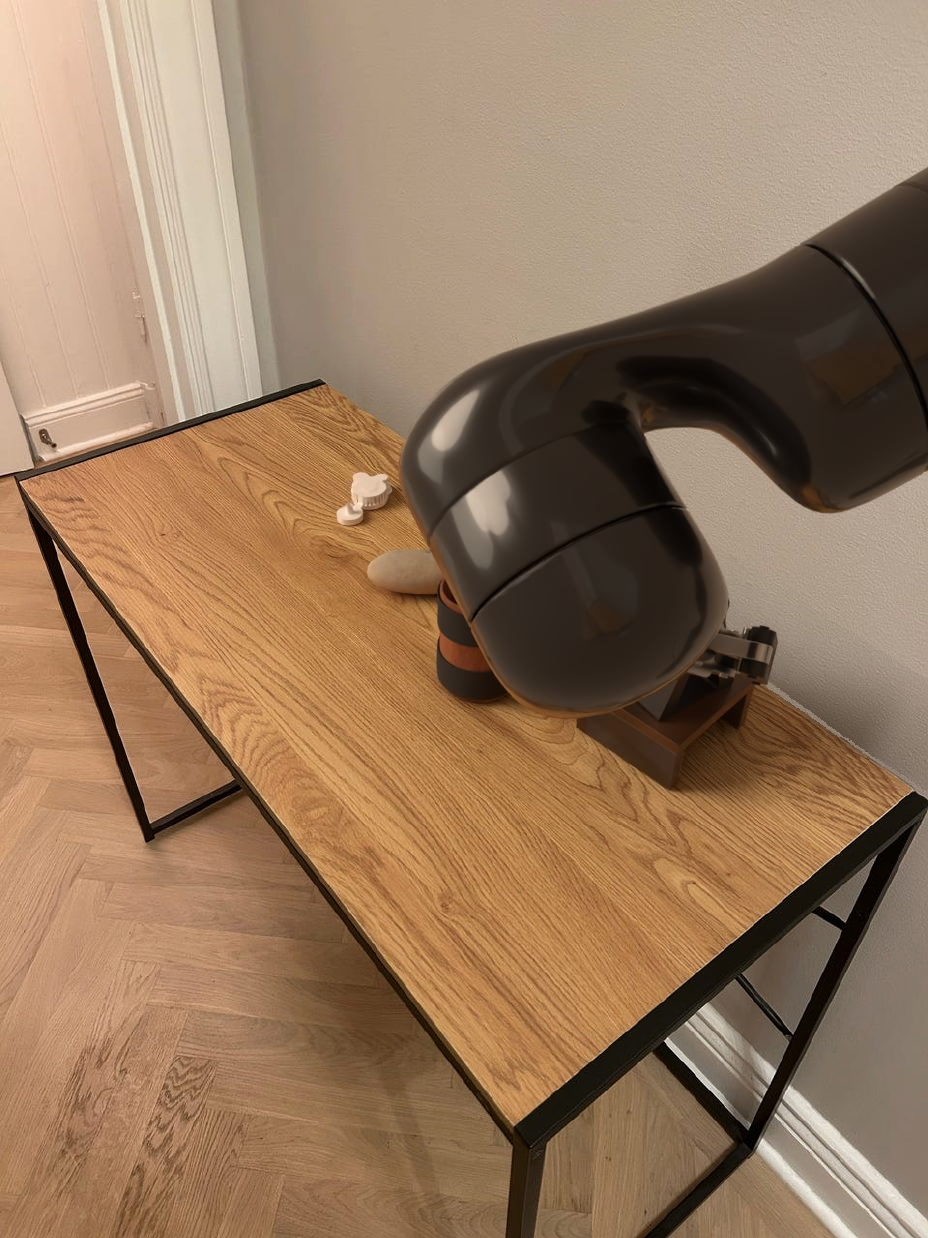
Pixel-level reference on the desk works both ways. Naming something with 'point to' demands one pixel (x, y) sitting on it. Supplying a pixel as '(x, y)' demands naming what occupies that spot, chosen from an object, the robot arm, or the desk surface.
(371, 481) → the white rounded lumpy shapes
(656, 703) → the phone stand
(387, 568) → the stone
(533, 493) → the robot arm
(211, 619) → the desk surface
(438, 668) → the mug
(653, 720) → the shelf
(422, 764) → the desk surface
